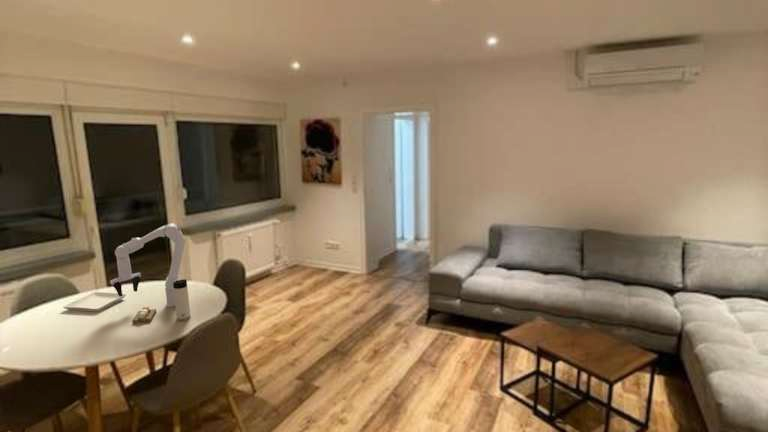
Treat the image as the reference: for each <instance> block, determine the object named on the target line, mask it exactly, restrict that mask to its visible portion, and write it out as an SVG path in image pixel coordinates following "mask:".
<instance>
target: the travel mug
mask: <svg viewBox="0 0 768 432" xmlns="http://www.w3.org/2000/svg"><path fill="white" fill-rule="evenodd" d="M173 289H174V298H175V306H174V307H175V314H176V320H177V321H180V322H181V321H186V320H189V319H190V318H191V311H190V310H191V308H190V299H189V289H188V281H187V279H185V278H184V279H179V280H178V281H176V282H173Z"/></svg>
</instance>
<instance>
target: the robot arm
mask: <svg viewBox="0 0 768 432" xmlns="http://www.w3.org/2000/svg"><path fill="white" fill-rule="evenodd" d="M159 237H160V238H161V237H162V238H165V237H167V238H169V239H171V241H173V242H174V247H173V253H172V259H171V263H170V268H169V272H168V275H167V276H166V278H165V283H164V286H165V289H164V290H165V299H166V303H165V305H164V306H165V308H170V307H175V298H174V289H173V282H176V281H178V280H180V279H179V273H180V269H181V264H182V258H183V253H184V247H185V243H186V239H185V236H184V234H183V232H182V230H181V228H180V227H179V226H178V225H177V224H176V223H173V222H171V223H170V222H169V223H167V224H165V225H162V226H160V227H159V228H156V229H154V230H153V231H151V232H149V233H147V234H146V235H144V236H142V237H132V238H131V240H129V241H127V242H126V243H125V242H124V243H122V244H121V245H118V246H117V247H116V249H115V250H114V256H115V257H116V265H117V273H118V277H116V278H114V279H111V280H109V283H110V285H111V286H112V287H113V288H114V289H115V291H116V293H118V295H119V296H122V294H123V290H122V282H127V281H129V280H130V281H131V283H132V288H133V289H132V290H133V292H136V293H137V292H138V288H139V284H140V281H141V277H142V274H141V272H136V273H132V265H131V261H130V260H131V259H130V256H129V254H133V253H134V252H136V251H138V250H141V249H142V248H144V245H145V244H146V243H149V242H150V241H152V240H154V239H156V238H159Z"/></svg>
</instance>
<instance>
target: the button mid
mask: <svg viewBox="0 0 768 432" xmlns="http://www.w3.org/2000/svg"><path fill="white" fill-rule="evenodd" d="M140 311H141V312H145V313H146V318H147V316H148V311H147V309H144V310H143V309H141V310H140Z"/></svg>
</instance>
